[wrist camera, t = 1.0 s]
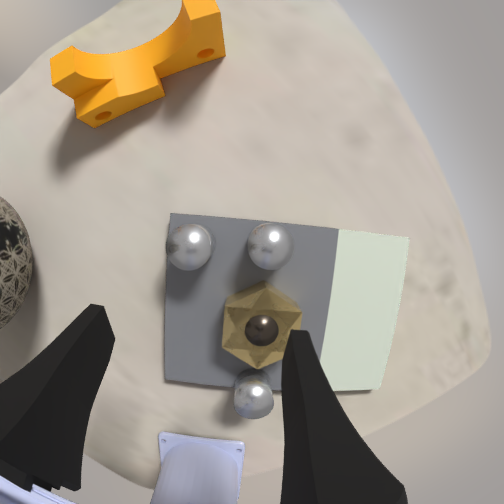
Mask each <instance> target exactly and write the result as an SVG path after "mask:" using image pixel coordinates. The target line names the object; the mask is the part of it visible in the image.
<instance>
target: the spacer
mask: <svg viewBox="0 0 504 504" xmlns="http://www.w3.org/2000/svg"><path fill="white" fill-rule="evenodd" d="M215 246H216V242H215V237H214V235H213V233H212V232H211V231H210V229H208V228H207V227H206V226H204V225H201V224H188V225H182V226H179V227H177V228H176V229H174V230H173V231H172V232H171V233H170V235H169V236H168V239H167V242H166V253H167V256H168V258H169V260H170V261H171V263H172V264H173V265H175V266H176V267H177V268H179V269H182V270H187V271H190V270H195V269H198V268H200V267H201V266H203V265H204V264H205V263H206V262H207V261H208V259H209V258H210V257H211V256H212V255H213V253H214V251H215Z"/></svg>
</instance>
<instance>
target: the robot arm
mask: <svg viewBox="0 0 504 504" xmlns="http://www.w3.org/2000/svg"><path fill="white" fill-rule="evenodd" d="M114 342H115V336H114V334H113V331H112V328H111V325H110V323H109V320H108V317H107V314H106V311H105V308H104V306H101V305H95V304H90V305H89V306H88V307H87V308H86V309H85V310H84V311H83V312H82V313H81V314H80V315H79V316H78V317H77V318H76V319H75V320H74V321H73V322H72V323H71V324H70V325H69V326H68V327H67V328H66V329H65V330H64V331H63V332H62V333H61V334H60V335H59V336H58V337H57V338H56V339H55V340H54V341H53V342H52V343H51V344H50V345H48V346H47V347H46V348H45V349H44V350H43V351H42V352H41V353H40V354H39V355H38V356H37V357H35V358H34V359H33V360H32V361H31V362H30V363H28V364H27V365H26V366H25V367H23V368H22V369H21V370H20V371H18V372H17V373H15V374H14V375H13V376H11V377H10V378H8V379H7V380H5V381H4V382H2V383H1V384H0V504H77V503H74V502H72V501H70V500H67V499H65V498H63V497H60V496H58V495H56V494H54V493H52V492H51V489H52V487H53V488H55V489H57V490H60V487H61V486H63V487H65V488H68V489H70V490H72V491H77V490H79V489H80V488H81V467H82V457H83V456H82V455H83V448H84V442H85V436H86V430H87V425H88V421H89V416H90V412H91V409H92V406H93V403H94V400H95V397H96V395H97V392H98V389H99V387H100V384H101V381H102V379H103V376H104V374H105V371H106V369H107V366H108V363H109V361H110V357H111V353H112V350H113V346H114ZM281 392H282V406H283V421H284V441H285V445H284V465H283V480H282V493H281V502H280V504H408V502H407V495H406V492H405V488H404V485H403V484H402V483H400V482H399V480H397V479H396V478H395V477H394V476H393V475H392V474H391V472H389V470H388V469H387V468H386V467H385V466H384V465H383V464H382V463H381V462H380V460H379V459H378V458H377V457H376V456H375V455H374V453H373V452H372V451H371V449H370V448H369V447H368V446H367V444H366V443H365V442H364V440H363V439H362V438H361V436H360V435H359V434H358V432H357V431H356V429H355V428H354V426H353V425H352V423H351V422H350V420H349V418H348V417H347V415H346V413H345V412H344V410H343V408H342V407H341V405H340V403H339V401H338V399H337V397H336V396H335V394H334V392H333V390H332V388H331V386H330V384H329V381H328V379H327V377H326V375H325V373H324V371H323V368H322V366H321V364H320V361H319V359H318V356H317V354H316V351H315V348H314V346H313V343H312V340H311V337H310V333H309V332H308V331H307V330H294V329H291V330H290V334H289V337H288V341H287V345H286V348H285V352H284V355H283V359H282V372H281ZM158 438H159V449H160V459H161V471H160V474H159V477H158V480H157V483H156V486H155V490H154V493H153V496H152V499H151V502H150V504H237V500H238V498H239V491H240V483H241V475H242V467H243V459H244V451H245V443H244V442H242V441H233V440H221V439H211V438H203V437H195V436H188V435H181V434H174V433H168V432H160V433H159V436H158ZM162 439H164V440H166V441H164V440H162ZM237 449H241V450H237Z"/></svg>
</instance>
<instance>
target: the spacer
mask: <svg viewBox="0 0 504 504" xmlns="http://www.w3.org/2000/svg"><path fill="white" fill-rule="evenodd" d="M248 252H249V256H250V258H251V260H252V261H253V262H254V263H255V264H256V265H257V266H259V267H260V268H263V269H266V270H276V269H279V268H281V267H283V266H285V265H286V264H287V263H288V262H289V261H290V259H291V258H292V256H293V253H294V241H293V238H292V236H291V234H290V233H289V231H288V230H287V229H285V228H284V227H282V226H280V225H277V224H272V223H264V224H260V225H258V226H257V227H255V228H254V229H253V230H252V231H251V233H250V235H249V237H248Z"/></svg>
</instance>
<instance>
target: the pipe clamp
mask: <svg viewBox="0 0 504 504" xmlns="http://www.w3.org/2000/svg"><path fill="white" fill-rule="evenodd" d="M224 56H226V54H225V46H224V38H223V30H222V22H221V14H220V10H219V8H218V6H217V4H216V2H215V0H182V7H181V11H180V13H179V15H178V17H177V19H176V20H175V21H174V23H173V24H172V25H171V26H170V27H169V28H168V29H167V30H166V31H164V32H163V33H162V34H160V35H159V36H158V37H156V38H154V39H153V40H151V41H149V42H147V43H145V44H143V45H141V46H138V47H135V48H133V49H130V50H126V51H123V52H118V53H112V54H90V53H86V52H82V51H80V50H78V49H76V48H75V47H73V46H70V47H69V48H67V49H65V50H64V51H62V52H60V53H59V54H57V55H55V56H54V57H52V58H51V59H50V66H51V78H52V86H54V87H55V88H57V89H58V90H60V91H61V92H63V93H64V94H66V95H67V96H69V97H71V98H72V99H74V104H75V110H76V116H77V119H79V120H81V121H83V122H84V123H86V124H88V125H90V126H91V127H93V128H96V127H98V126H100V125H102V124H104V123H106V122H108V121H110V120H112V119H114V118H116V117H118V116H120V115H122V114H125V113H127V112H129V111H131V110H133V109H135V108H138V107H140V106H142V105H145V104H147V103H149V102H152V101H154V100H156V99H159V98H161V97H164V96H165V93H164V89H163V86H162V83H161V78H163V77H166V76H168V75H171V74H174V73H176V72H179V71H182V70H184V69H187V68H190V67H193V66H196V65H199V64H202V63H205V62H208V61H211V60H214V59H217V58H221V57H224Z"/></svg>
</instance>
